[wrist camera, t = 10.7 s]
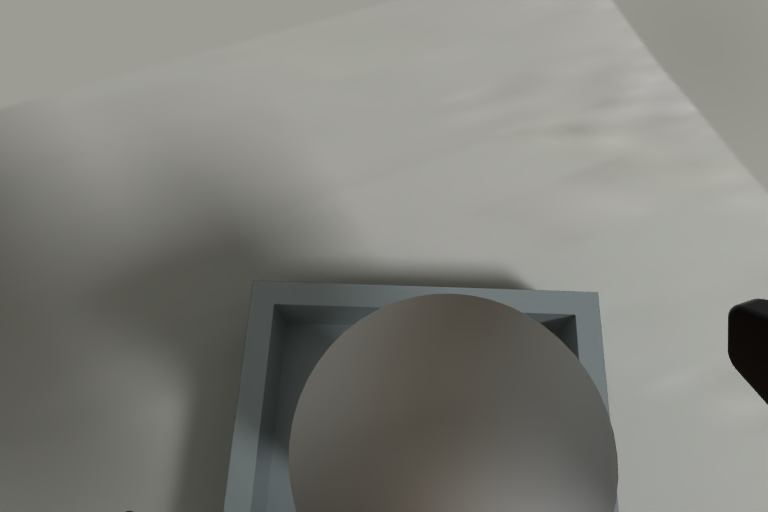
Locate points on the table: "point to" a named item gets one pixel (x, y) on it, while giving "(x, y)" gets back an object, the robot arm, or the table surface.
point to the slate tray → (313, 338)
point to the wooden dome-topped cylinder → (451, 416)
